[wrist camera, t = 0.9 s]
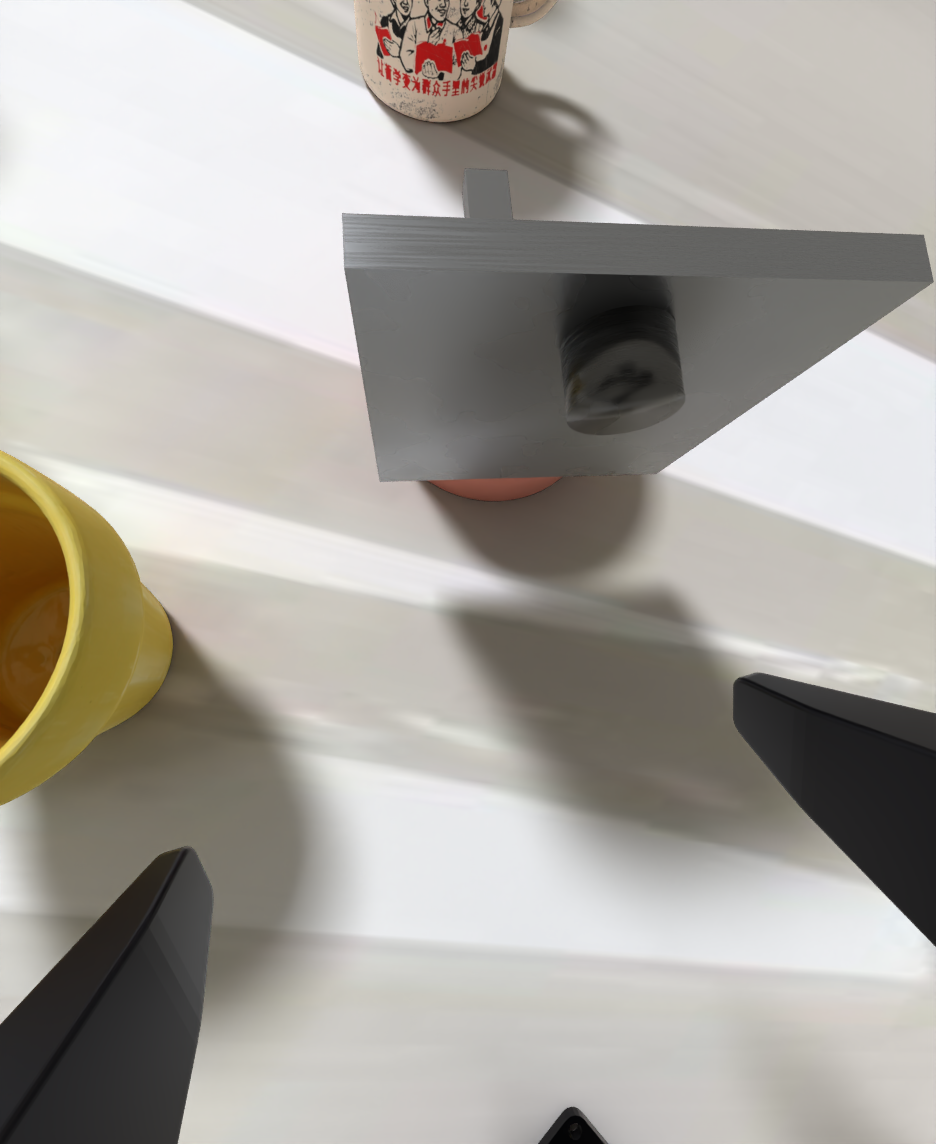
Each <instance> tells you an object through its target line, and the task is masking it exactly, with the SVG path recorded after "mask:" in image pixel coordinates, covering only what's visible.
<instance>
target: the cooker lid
mask: <svg viewBox="0 0 936 1144" xmlns="http://www.w3.org/2000/svg"><path fill="white" fill-rule="evenodd" d="M342 221H343V247H344V269H345V275H346V281H347V287H348V293H349V299H350V305H351V311H352V317H353V323H354V329H355V335H356V341H357V347H358V353H359V359H360V366H361V372H362V378H363V384H364V390H365V396H366V402H367V408H368V414H369V420H370V426H371V432H372V438H373V444H374V450H375V456H376V462H377V468H378V474H379V480H380V482H389V481H425V480H460V479H496V478H531V477H566V476H602V475H637V474H657V473H658V472H660V471H661V470H663V469H664V468H665V467H667V466H668V465H670V464H671V463H673V462H674V461H676V460H677V459H678V458H680V457H681V456H683V455H684V454H686V453H687V452H689V451H690V450H691V449H693V448H694V447H696V446H697V445H699V444H700V443H702V442H703V441H704V440H706V439H707V438H709V437H710V436H712V435H713V434H715V433H716V432H717V431H719V430H720V429H722V428H723V427H725V426H726V425H728V424H729V423H731V422H732V421H733V420H735V419H736V418H738V417H739V416H741V415H742V414H744V413H745V412H746V411H748V410H749V409H751V408H752V407H754V406H755V405H757V404H758V403H759V402H761V401H762V400H764V399H765V398H767V397H768V396H770V395H771V394H772V393H774V392H775V391H777V390H778V389H780V388H781V387H783V386H784V385H785V384H787V383H788V382H790V381H791V380H793V379H794V378H796V377H797V376H798V375H800V374H801V373H803V372H804V371H806V370H807V369H809V368H810V367H812V366H813V365H814V364H816V363H817V362H819V361H820V360H822V359H823V358H825V357H826V356H827V355H829V354H830V353H832V352H833V351H835V350H836V349H838V348H839V347H840V346H842V345H843V344H845V343H846V342H848V341H849V340H851V339H852V338H853V337H855V336H856V335H858V334H859V333H861V332H862V331H864V330H865V329H866V328H868V327H869V326H871V325H872V324H874V323H875V322H877V321H878V320H880V319H881V318H882V317H884V316H885V315H887V314H888V313H890V312H891V311H893V310H894V309H895V308H897V307H898V306H900V305H901V304H903V303H904V302H906V301H907V300H908V299H910V298H911V297H913V296H914V295H916V294H917V293H919V292H920V291H921V290H923V289H924V288H926V287H927V286H929V285H930V284H932V283H933V282H934V281H933V277H932V272H931V267H930V262H929V258H928V253H927V248H926V243H925V239H924V235H912V234H885V233H858V232H831V231H804V230H777V229H750V228H723V227H696V226H669V225H643V224H616V223H589V222H562V221H535V220H508V219H481V218H454V217H427V216H400V215H373V214H346V213H342Z"/></svg>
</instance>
